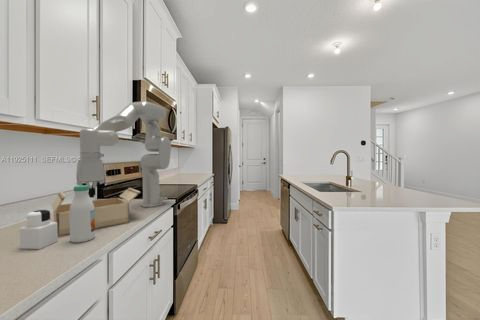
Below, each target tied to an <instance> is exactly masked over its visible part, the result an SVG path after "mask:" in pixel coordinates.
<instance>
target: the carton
mask: <svg viewBox="0 0 480 320" xmlns="http://www.w3.org/2000/svg"><path fill="white" fill-rule="evenodd" d="M92 202H93V204H94V212H95V230H97V229H102V228H107V227H113V226H116V225H117V226H118V225H122V224H127V223H130V204H129V203H130V202H129V201H127V200H125V199H123V198H121V197H111V198H102V199H97V200H96V199H95V200H92ZM70 206H71V203H64V204H61V205H60V206H59V208H58V209H57V211H56V212H54V211H53V222H57V233H58V237H62V236H67V235H70V222H69V211H70Z"/></svg>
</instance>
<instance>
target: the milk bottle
mask: <svg viewBox="0 0 480 320" xmlns="http://www.w3.org/2000/svg"><path fill="white" fill-rule="evenodd" d="M88 191H89V186H88V185H75V186H74V187H73V193H74V197H73V199H72V201H71V203H70V204H71V206H70V211H69V222H70V234H69V240H70V242H71V243H73V244H74V243H76V244H77V243H84V242H88V241H90V240H93V239H94V238H95V237H96V229H95V212H94V204H93V202H92V201H93V200H92V198H90V197H89V194H88Z"/></svg>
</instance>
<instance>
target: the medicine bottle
mask: <svg viewBox="0 0 480 320" xmlns="http://www.w3.org/2000/svg"><path fill="white" fill-rule="evenodd" d="M26 224H27V225H25V226H21V227H20V228H19V244H20V245H19V246H20V247H19V248H20V250H41V249H44V248H45V247H48V246H51V245H52V244H54V243H57V242H58V241H59V238H58V237H59V236H58V233H57V222H54V221H51V211H50V210H48V209H41V210H40V209H38V210H33V211H30V212H28V213H27V214H26Z"/></svg>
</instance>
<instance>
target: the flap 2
mask: <svg viewBox="0 0 480 320" xmlns="http://www.w3.org/2000/svg"><path fill="white" fill-rule="evenodd" d="M140 194H141V191H140V190H137V189H134V188H133V187H128V188H127V189H125V190H124V191H123V192H122V193H120V195H119V197H118V198H120V199H122V200H124V201H126V202H128V203H130V202H131V201H133V200H134V199H135V198H136V197H137V196H138V195H140Z"/></svg>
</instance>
